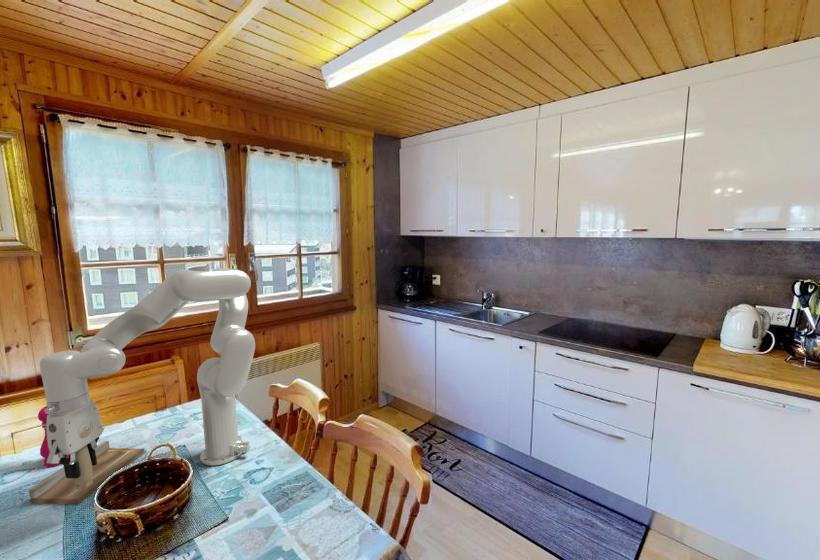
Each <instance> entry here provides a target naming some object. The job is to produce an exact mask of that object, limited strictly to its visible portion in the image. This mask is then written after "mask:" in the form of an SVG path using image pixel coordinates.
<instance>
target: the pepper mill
mask: <svg viewBox="0 0 820 560" xmlns="http://www.w3.org/2000/svg"><path fill="white" fill-rule="evenodd" d="M45 405H46V406H44V407H42V408H41V409H40V410H39V412H38V413H37V418H38V420H39V421H40V422H41V428H42V429H43V430H44V437H43V441H42V443H41V445H40V449H39V455H40V456H41V457H42V458H44V459H43V466H44V467H45V466H46V467H45V468H52V467H53V468H54V467H57V466H61V465H60V464H57V463H55V464H47V459H48V456H49V454H50V451H49V447H48V441H47V416H48V415H49V414H46V413H45V409H46V408H48V406H47V402H46V404H45ZM58 457H59V458H60V453H59V456H58ZM67 458H68V455H67Z"/></svg>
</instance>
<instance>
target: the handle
mask: <svg viewBox="0 0 820 560" xmlns="http://www.w3.org/2000/svg"><path fill="white" fill-rule="evenodd" d="M90 433H91V428H89V429H88V430H86V431H85V432H83V433H81V434H80V436H81V437H80V438H85V437H87V436H88V435H89V434H90ZM75 462H78V464H79V469H80V474H81V475H80V477H79V478H73V480H74V483H75V484H76V488H77V490H81V489H86V488H88V487H89V486H90V485H92V484H93V480H92V477H93V470H92V462H91V458H90V455H89V451H88V447H87V445H86V446H84V447H83V448H81V449H80V450H78V451H77V452H75Z"/></svg>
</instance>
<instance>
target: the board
mask: <svg viewBox="0 0 820 560" xmlns="http://www.w3.org/2000/svg"><path fill="white" fill-rule="evenodd" d="M95 453H96V458H97V464H96V465H95V466H92V470H93V477H92V480H93V484H92V485H90V486H89V487H88V488H86V489H81V490H77V488H76V484H75V483H74V480H73V478H66V476H65V471H64V466H63V467H61V468H60V469H58V470H56V471H55V472H54V473H52V474H50V475H49V476H47V477H46V478H45V479H43V480H41V481H40V482H38V483H37V484H35V485H33V486H32V487H30V488H29V489H28V494H29V500H30V504H38V505H39V504H40V505H45V504H46V505H79V504H81V503H82V502H83V501H85V500H86V499H88V498H89V497H90V496H91V495H92V494H94V493H95V492H97V490H98V489H97V488H98V487H99V486H100V485H101V484H102V483H103V482H104V481H105V480H106V479H107V478H108V477H109V476H111V475H112V474H113V473H114V472H116V471H118V470H120V469H121V468H123V467H125V466H127V465H128V466H130V465H131V464H132V463H134V461H136V460H137V459H138V458H140V457H141V456H142V455H143V454H145V449H144V448H137V447H136V448H131V447H130V448H127V447H126V448H125V447H124V448H123V447H117V448H116V447H110V441H109V440H103V441H102V442H100V443H99V444H97V448H96V449H95ZM129 464H130V465H129ZM128 466H127V467H128ZM84 499H85V500H84ZM80 502H81V503H80Z"/></svg>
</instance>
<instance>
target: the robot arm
mask: <svg viewBox="0 0 820 560" xmlns="http://www.w3.org/2000/svg"><path fill="white" fill-rule="evenodd" d="M251 286H252V281H251V278H250V276H249V274H247V273H246V272H245V271H243V270H240V269H236V268H228V267H220V268H215V269H213V270H211V271H210V270H207V271H206V270H205V271H203V270H202V271H201V270H190V269H179V270H177V271H174V272H173V273H171V274H170V275H168V276H167V277H166V278H165V279H164V280H163V281H162V282H161V283H159V285H157V286H156V287H155V288H153V290H151V291H150V293H148V294H147V295H146V296H145V297H144V298H143V299H141V300H140V301H139V302H138V303H136V304H135V305H134V306H133V307H131V308H130V309H127V310H126V311H124V313H122V314H121V315H119V316H118V317H116V318H114V319H113V320H111V321H110V322H108V324H106V325H105V326H104V327H103V328H101V329H100V330H99V331H98V332H97V333H95V335H93V336H92V337H91V338H90V339H88V341H87V342H85V344H84V345H83V346H82V348H81V350H80V351H78V350H69V349H68V350H63V351H58V352H53V353H50V354H48V355H45V356H43V357H42V358H41V359H40V361H39V370H40V375H41V381H42V385H43V389H44V396H45V399H46V403H47V405H46V406H48V408H46V409H45V413H46V414H49V415H48V416H47V441H48V447H49V451H50V454H49V456H48V459H47V464H55V463H57V464H60V465H59V466H63V467H64V471H65V476H66V478H79V477H80V475H81V474H80V469H79V464H78V462H75V452H77V451H78V450H80V449H81V448H83V447H84V446H86V445H87V447H88V451H89V455H90V458H91V462H92V466H95V465H96V464H97V458H96V453H95V449H96V448H97V445H98V444H97V443H98V441H99V440H100V436H101V435H102V434H103V433H104V430H105V429H104V427H103V423H102V417H101V414H100V411H99V409H98V406H97V404H96V402H95V401H94V399H92V398H91V396H90V391H89V385H88V379H94V378H101V377H107V376H111V375H114V374H115V373H117V372H119V371H121V370H122V368H123V367H124V366H125V363H126V358H127V357H126V355H125V353H124V351H123V349H124V348H125V347H126V346H127V345H128V344H129V343H131V342H132V341H134V340H135V339H136V338H138V337H139V336H140V335H142V334H143V335H144V334H145V333H147V332H149V331H154V330H156V329H157V330H158V329H159V328H161V327H163V326H165V325H166V324H167V323H168V322H169V321H170V320H171V319H172V318H173V317H174V316H175V315H176V314H177V313H178V312H179V311H181V309H183V308H184V307H185V306H186V305H187V303H189V302H199V303H200V302H213V301H218V311H217V317H216V320H215V324H214V326H213V330H212V333H211V336H210V343H209V344H210V347H211V349H212V350H213V351H214V352H215V353H217V354H219V355H220V357H211V358H207V359H206V360H204V361H203V362H202V363H201V364H200V365H199V367H198V369H197V373H196V381H197V387H198V391H199V395H200V402H201V412H202V413H201V414H202V425H203V427H202V428H203V438H204V448H205V449H204V450H202V452H200V455H199V460H200V462H201V463H202V464H203V465H205V466H220V465H224V464H227V463H229V462H233V461H235V460H236V459H238V458H239V457H240V456H241V455H242V454H243V452H249V451H250V448H251V446H250V441H248V440H247V441H246V440H245V441H243V440H242V436H241V435H239V431H238V429H239V428H238V418H237V406H236V405H237V402H236V400H237V399H236V396H237V395H238V394H239V393H240V392H241V391H242V390H243V388H244V387H245V386H246V383H247V381H248V377H249V374H250V371H251V366H252V362H253V359H254V355H255V350H256V341H255V337H254V335H253V333H252V332H251V331H249V330H247V329H246V328H245V327H246V323H247V320H248V319H247V318H248V313H249V312H248V311H249V301H248V297H247V296H248V295H247V293H248V292H249V291H250V290H251ZM89 428H91V433H90V434H89V435H88V436H87V437H85V438H80V437H81V436H80V434H81V433H83V432H85V431H86V430H88V429H89ZM59 453H60V458H59V457H58V456H59ZM67 455H68V458H67Z"/></svg>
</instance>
